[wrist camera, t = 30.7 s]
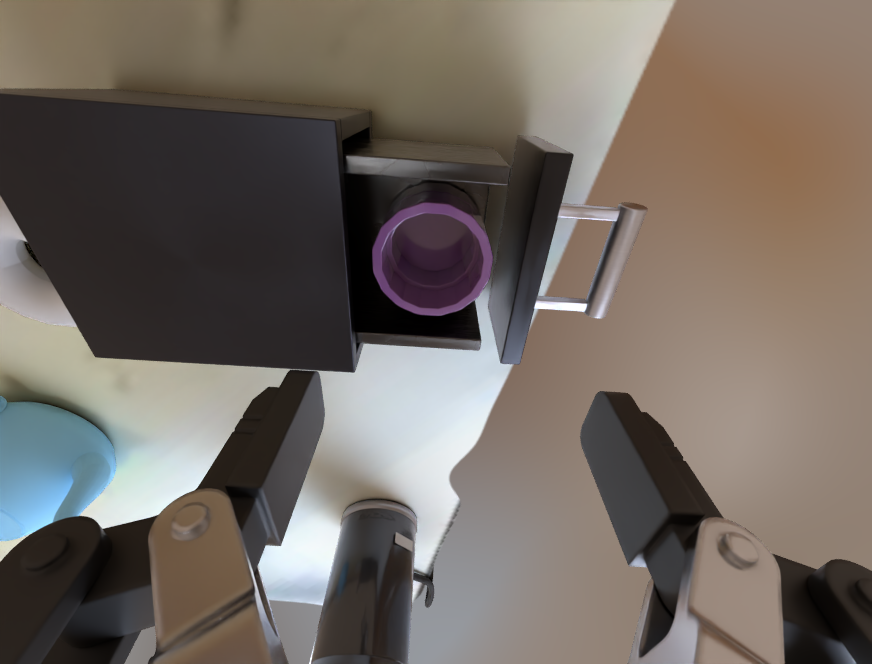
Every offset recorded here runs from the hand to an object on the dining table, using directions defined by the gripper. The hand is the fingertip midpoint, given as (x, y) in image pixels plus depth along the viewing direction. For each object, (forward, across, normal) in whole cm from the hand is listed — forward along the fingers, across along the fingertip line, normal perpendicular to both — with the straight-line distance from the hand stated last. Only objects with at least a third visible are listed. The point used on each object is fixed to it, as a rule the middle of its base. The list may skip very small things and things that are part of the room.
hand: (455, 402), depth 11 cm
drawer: (+16, -1, 0) cm, 16 cm away
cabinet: (+17, +12, 0) cm, 21 cm away
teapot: (+17, +38, +26) cm, 49 cm away
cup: (+15, +1, 0) cm, 15 cm away
